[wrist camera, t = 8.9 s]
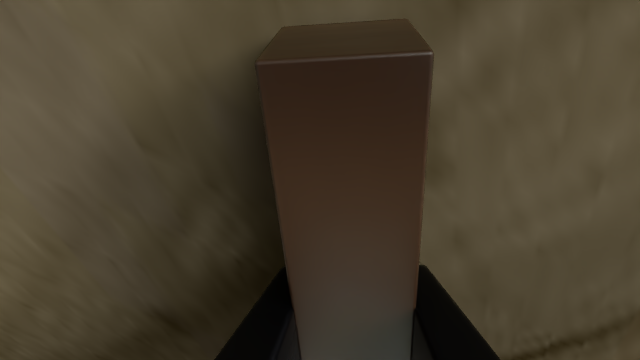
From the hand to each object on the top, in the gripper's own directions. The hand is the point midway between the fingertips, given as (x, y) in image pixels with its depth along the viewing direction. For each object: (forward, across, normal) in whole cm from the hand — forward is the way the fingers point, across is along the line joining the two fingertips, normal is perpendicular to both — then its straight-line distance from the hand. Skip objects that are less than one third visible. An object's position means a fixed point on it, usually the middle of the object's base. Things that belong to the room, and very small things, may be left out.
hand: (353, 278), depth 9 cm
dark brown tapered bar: (+1, 0, +3) cm, 3 cm away
